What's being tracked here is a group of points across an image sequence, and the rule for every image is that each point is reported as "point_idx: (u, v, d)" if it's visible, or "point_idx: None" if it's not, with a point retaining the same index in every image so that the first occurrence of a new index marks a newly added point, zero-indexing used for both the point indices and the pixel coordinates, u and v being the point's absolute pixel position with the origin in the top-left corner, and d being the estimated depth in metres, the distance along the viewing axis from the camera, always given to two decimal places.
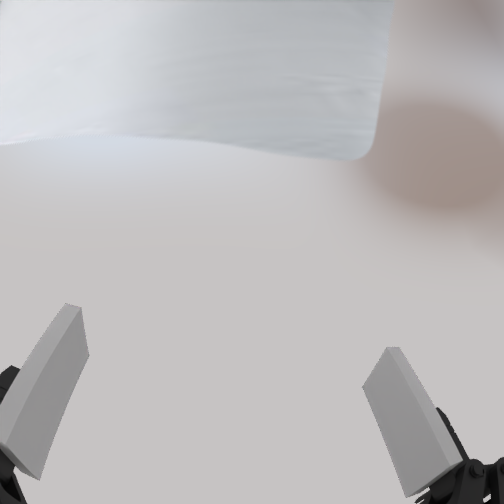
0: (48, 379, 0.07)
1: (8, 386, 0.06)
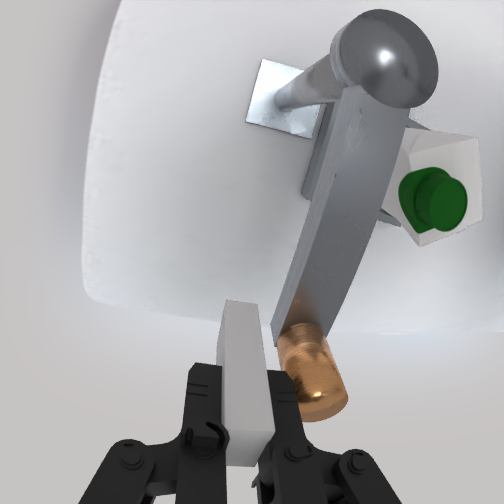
0: None
1: (204, 382, 0.09)
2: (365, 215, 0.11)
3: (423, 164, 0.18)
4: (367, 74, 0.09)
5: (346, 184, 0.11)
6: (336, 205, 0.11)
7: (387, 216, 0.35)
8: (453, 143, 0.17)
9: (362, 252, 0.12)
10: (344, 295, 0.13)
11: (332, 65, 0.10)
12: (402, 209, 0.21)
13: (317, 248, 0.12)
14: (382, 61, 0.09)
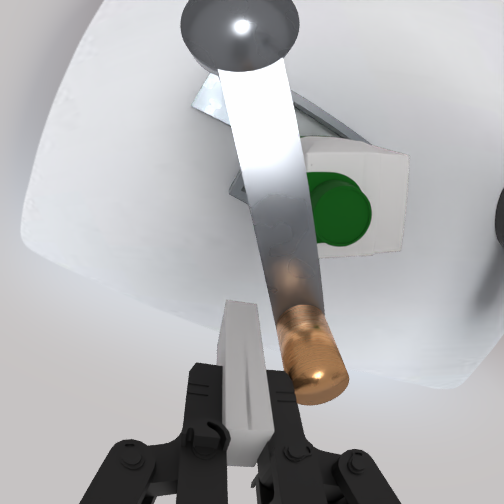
0: None
1: (205, 382, 0.09)
2: (293, 183, 0.11)
3: (324, 167, 0.18)
4: (220, 55, 0.09)
5: (256, 165, 0.11)
6: (257, 189, 0.11)
7: None
8: (372, 152, 0.18)
9: (311, 219, 0.12)
10: (318, 266, 0.13)
11: None
12: None
13: (262, 236, 0.12)
14: (227, 34, 0.08)
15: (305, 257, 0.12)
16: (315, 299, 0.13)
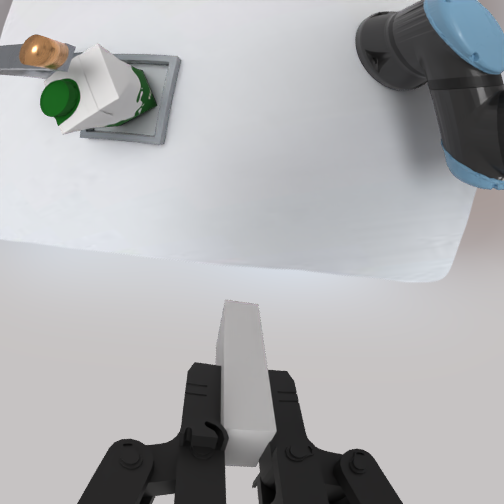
0: None
1: (203, 382, 0.09)
2: (9, 50, 0.14)
3: (52, 82, 0.22)
4: None
5: (0, 63, 0.15)
6: (5, 64, 0.15)
7: (143, 137, 0.40)
8: (73, 58, 0.22)
9: (21, 45, 0.14)
10: None
11: None
12: None
13: (16, 65, 0.15)
14: None
15: None
16: None
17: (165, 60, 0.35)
